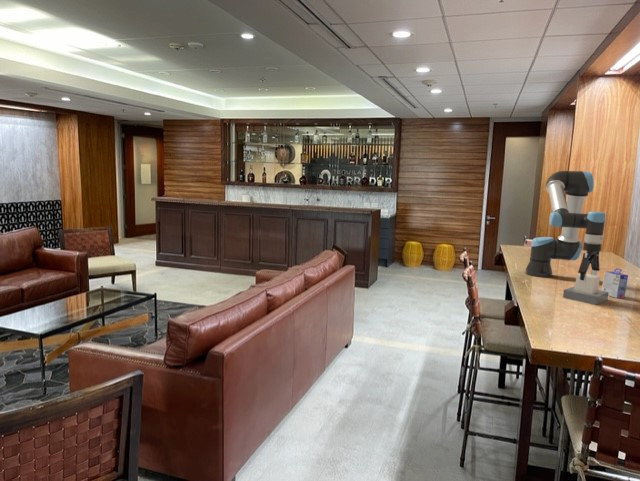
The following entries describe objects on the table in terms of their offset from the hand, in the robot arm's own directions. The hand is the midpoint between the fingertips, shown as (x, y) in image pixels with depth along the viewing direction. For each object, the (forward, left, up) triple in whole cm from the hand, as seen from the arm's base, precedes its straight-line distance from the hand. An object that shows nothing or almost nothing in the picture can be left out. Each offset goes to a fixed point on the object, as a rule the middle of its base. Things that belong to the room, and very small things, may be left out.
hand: (587, 284), depth 228 cm
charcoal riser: (0, 0, -7) cm, 7 cm away
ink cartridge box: (-20, +6, -8) cm, 22 cm away
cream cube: (0, 0, -3) cm, 3 cm away
